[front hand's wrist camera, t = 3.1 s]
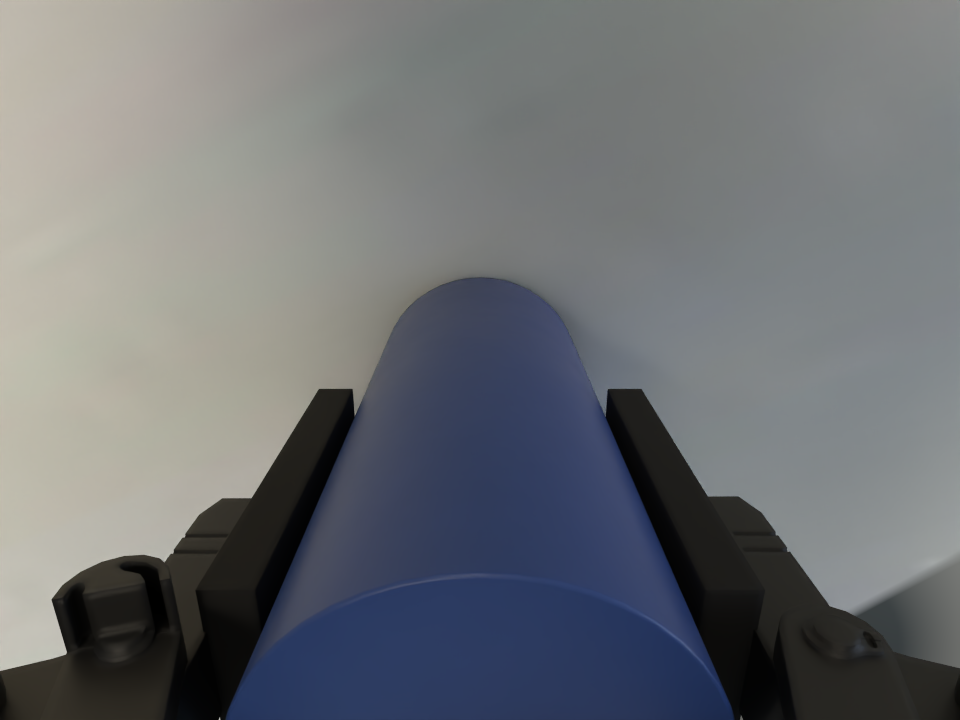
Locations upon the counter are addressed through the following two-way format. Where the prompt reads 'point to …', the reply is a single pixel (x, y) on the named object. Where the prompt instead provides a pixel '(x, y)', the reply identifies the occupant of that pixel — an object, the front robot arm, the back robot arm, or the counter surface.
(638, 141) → the counter surface
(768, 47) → the counter surface
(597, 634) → the can
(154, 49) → the counter surface
